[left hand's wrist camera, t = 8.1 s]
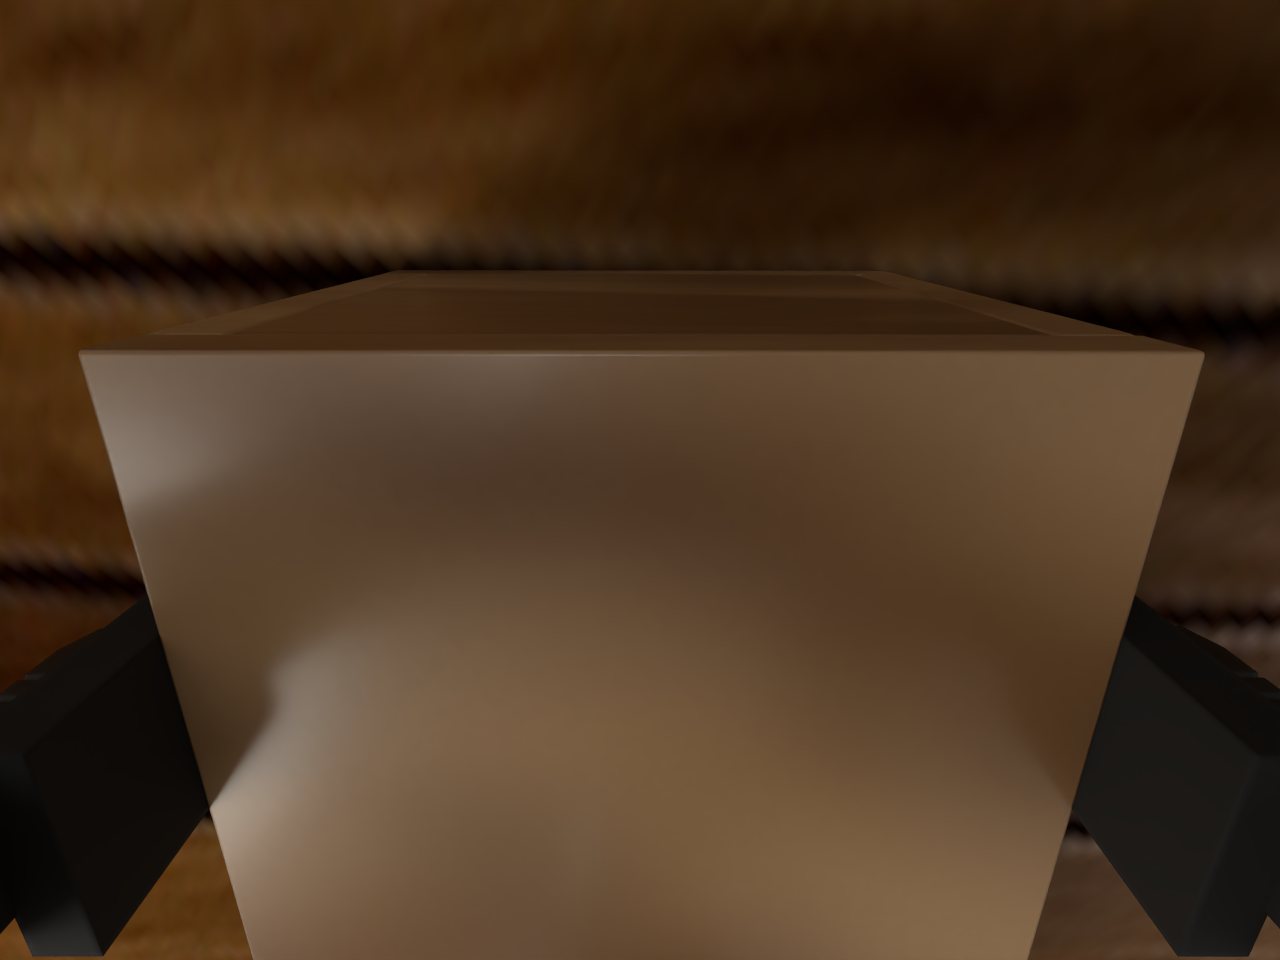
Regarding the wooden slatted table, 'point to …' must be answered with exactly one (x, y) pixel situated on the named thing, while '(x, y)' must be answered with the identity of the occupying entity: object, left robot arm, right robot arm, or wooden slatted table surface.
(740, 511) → the cabinet
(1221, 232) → the wooden slatted table surface
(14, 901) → the left robot arm
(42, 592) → the wooden slatted table surface
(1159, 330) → the wooden slatted table surface
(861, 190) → the wooden slatted table surface
